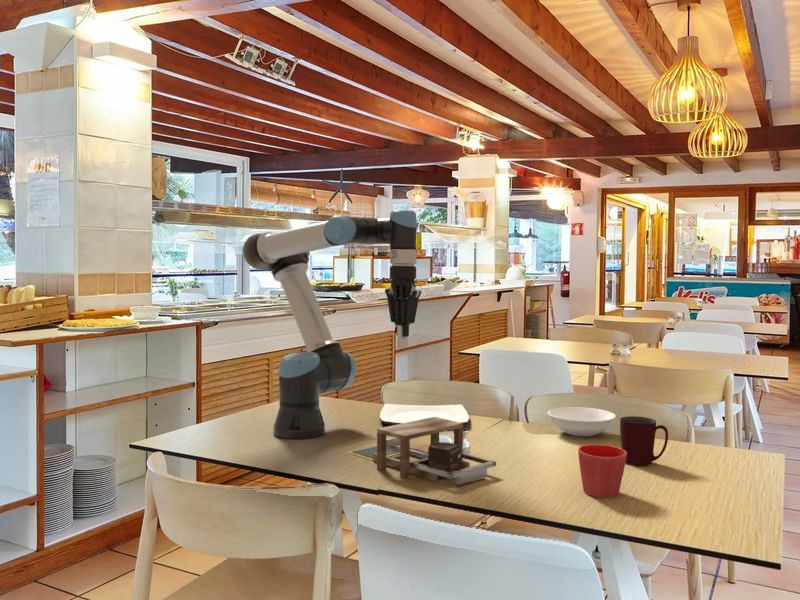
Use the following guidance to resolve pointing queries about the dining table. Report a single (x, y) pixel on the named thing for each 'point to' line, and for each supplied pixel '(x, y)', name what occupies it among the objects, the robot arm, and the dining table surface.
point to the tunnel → (409, 432)
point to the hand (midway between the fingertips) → (402, 347)
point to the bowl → (581, 420)
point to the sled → (462, 475)
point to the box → (444, 457)
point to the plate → (422, 413)
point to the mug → (640, 439)
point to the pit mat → (368, 452)
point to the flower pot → (601, 469)
